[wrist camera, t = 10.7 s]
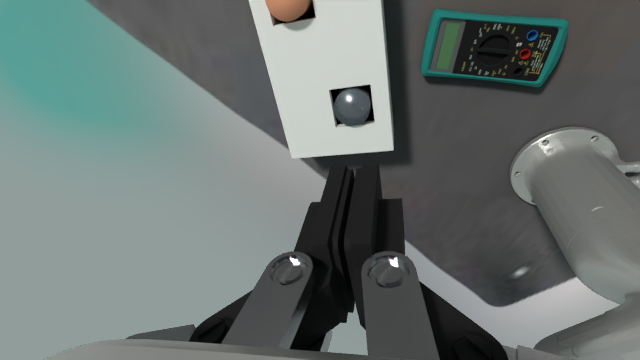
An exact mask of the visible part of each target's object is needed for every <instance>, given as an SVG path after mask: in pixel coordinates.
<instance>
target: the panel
mask: <svg viewBox="0 0 640 360" xmlns="http://www.w3.org/2000/svg"><path fill="white" fill-rule="evenodd" d="M249 3H250V7H251V10H252V14H253V18H254V21H255V25H256V29H257V32H258V36H259V40H260V43H261V47H262V51H263V54H264V58H265V62H266V65H267V69H268V73H269V76H270V80H271V84H272V87H273V91H274V95H275V98H276V102H277V106H278V109H279V113H280V117H281V120H282V124H283V128H284V131H285V135H286V139H287V142H288V146H289V150H290V153H291V157H292V158H305V157H317V156H330V155H343V154H355V153H368V152H381V151H393V150H394V126H393V114H392V101H391V89H390V77H389V65H388V53H387V40H386V28H385V16H384V4H383V0H313V5H314V11H315V16H316V17H313V18H308V19H302V20H297V21H292V22H287V23H282V24H281V22H280V20H279V19H277V18H275V17H274V16H273V15H272V14H271V13H270V11H269V10H268V8H267V6H266V2H265V0H249ZM362 85H371V94H372V103H373V111H374V121H365V122H363V123H361V124H359V125H355V126H350V125H346V124H337V122H336V117H335V113H334V105H333V100H332V94H331V90H332V89H339V88H347V87H354V86H362Z"/></svg>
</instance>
